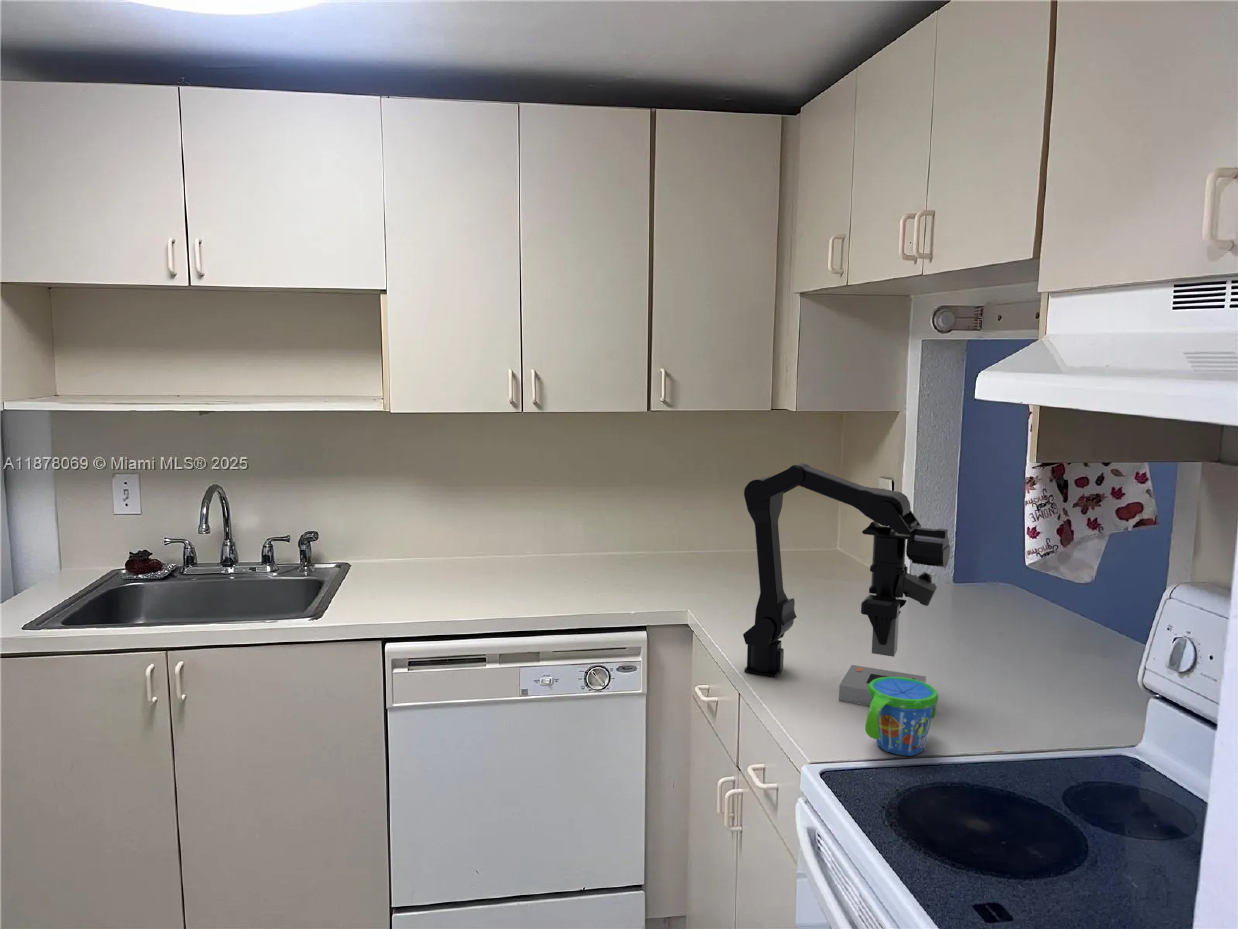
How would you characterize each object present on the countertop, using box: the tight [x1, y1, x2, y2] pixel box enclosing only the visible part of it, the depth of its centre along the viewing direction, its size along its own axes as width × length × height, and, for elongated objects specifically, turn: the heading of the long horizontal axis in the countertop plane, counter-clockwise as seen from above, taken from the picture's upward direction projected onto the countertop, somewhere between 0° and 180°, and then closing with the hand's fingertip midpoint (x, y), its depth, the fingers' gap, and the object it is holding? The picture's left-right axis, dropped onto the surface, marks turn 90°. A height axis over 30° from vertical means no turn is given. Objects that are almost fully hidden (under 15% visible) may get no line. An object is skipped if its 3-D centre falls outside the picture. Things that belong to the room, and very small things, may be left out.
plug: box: [871, 615, 900, 658], centre depth 159 cm, size 4×4×9 cm
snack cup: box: [864, 677, 939, 757], centre depth 138 cm, size 16×10×10 cm
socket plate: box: [838, 664, 927, 707], centre depth 160 cm, size 14×12×3 cm
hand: (884, 641), depth 159 cm, fingers closed on plug, 4 cm apart
